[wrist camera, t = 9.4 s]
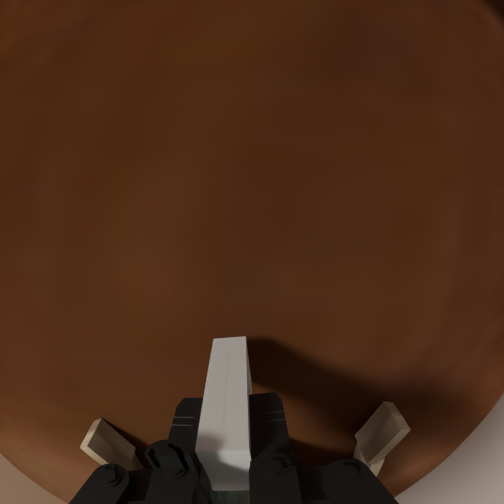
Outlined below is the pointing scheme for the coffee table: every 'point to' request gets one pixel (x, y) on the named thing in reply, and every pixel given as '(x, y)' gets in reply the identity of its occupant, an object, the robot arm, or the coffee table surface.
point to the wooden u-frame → (367, 450)
